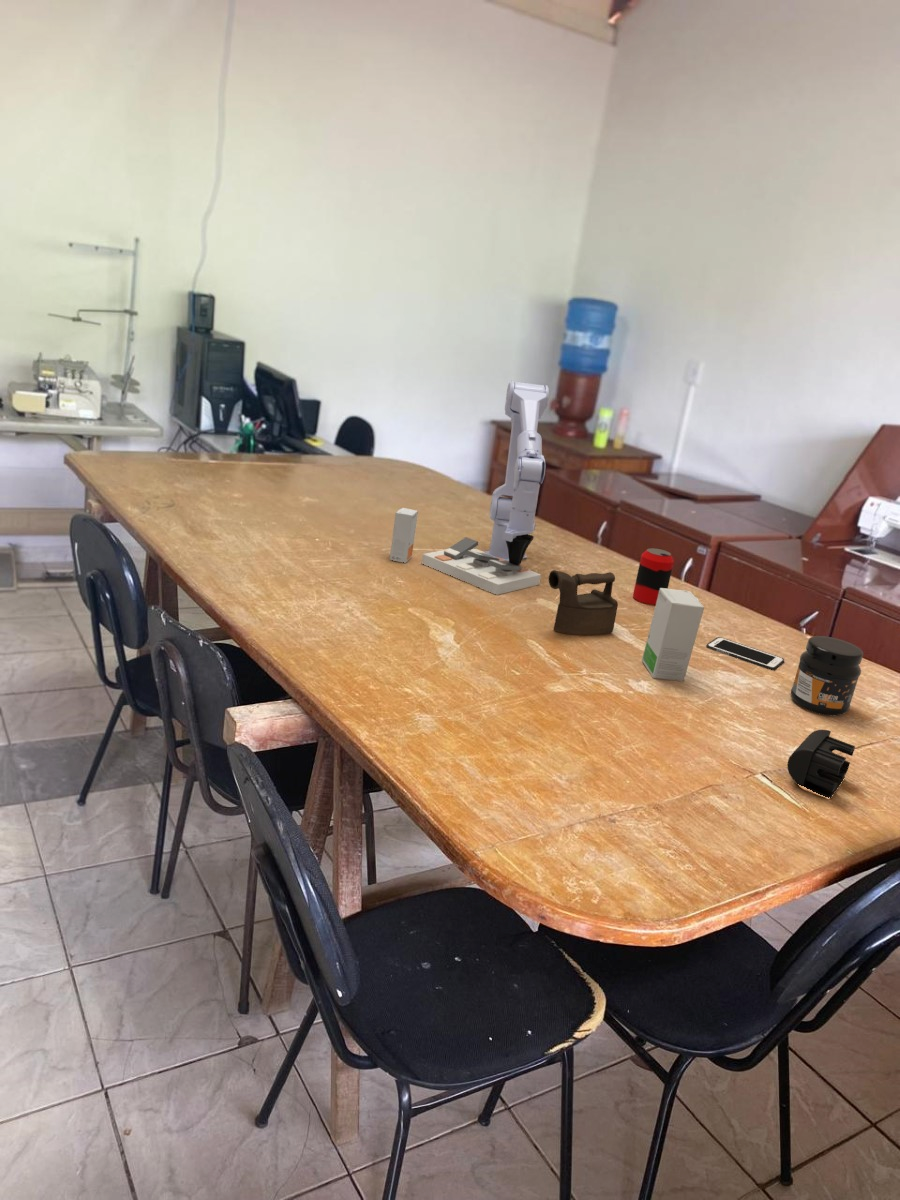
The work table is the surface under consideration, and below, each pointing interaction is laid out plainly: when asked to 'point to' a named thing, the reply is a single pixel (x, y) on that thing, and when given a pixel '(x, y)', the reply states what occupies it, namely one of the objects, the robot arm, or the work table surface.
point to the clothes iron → (584, 604)
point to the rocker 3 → (504, 565)
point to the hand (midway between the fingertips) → (514, 564)
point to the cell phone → (745, 653)
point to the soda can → (652, 575)
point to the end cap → (820, 763)
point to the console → (482, 572)
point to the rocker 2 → (481, 556)
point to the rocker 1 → (460, 548)
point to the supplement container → (827, 675)
